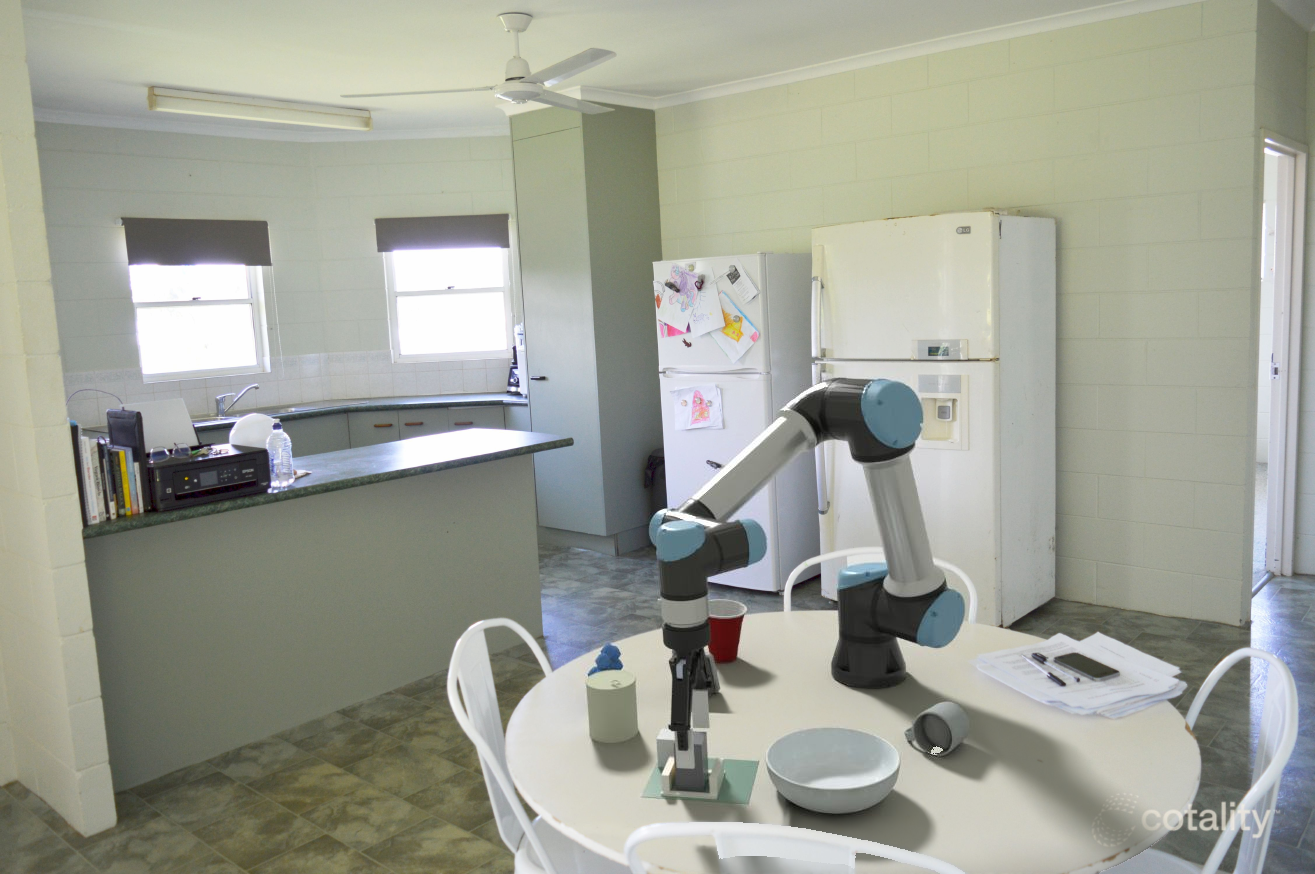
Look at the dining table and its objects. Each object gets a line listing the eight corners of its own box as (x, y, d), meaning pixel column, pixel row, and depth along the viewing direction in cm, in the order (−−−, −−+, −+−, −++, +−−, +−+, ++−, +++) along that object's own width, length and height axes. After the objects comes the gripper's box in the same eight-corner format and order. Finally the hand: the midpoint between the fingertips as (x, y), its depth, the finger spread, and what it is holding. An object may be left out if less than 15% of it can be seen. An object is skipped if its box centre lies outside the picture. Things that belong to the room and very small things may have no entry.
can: (601, 755, 171) (597, 691, 169) (581, 736, 179) (577, 674, 177) (648, 742, 175) (644, 679, 173) (626, 723, 183) (622, 663, 181)
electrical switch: (721, 692, 195) (717, 649, 193) (708, 704, 191) (704, 660, 189) (681, 684, 200) (677, 642, 198) (668, 695, 196) (663, 653, 194)
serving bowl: (785, 757, 167) (784, 719, 166) (910, 774, 159) (909, 734, 158) (750, 818, 148) (748, 776, 147) (889, 842, 140) (888, 797, 139)
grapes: (600, 690, 199) (596, 634, 197) (631, 693, 197) (627, 636, 195) (577, 714, 188) (573, 655, 186) (609, 717, 186) (606, 657, 184)
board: (759, 769, 163) (758, 743, 162) (748, 812, 149) (747, 785, 149) (660, 763, 167) (659, 738, 166) (641, 805, 153) (640, 778, 152)
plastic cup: (735, 671, 206) (732, 616, 204) (691, 663, 211) (688, 610, 210) (757, 653, 215) (755, 601, 213) (714, 646, 220) (712, 595, 219)
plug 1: (685, 757, 165) (684, 729, 164) (681, 768, 161) (679, 740, 161) (663, 755, 166) (661, 728, 165) (657, 766, 162) (656, 738, 162)
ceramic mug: (973, 743, 168) (972, 701, 167) (954, 761, 162) (952, 718, 161) (916, 729, 175) (915, 688, 174) (895, 746, 169) (894, 704, 168)
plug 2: (708, 778, 158) (706, 731, 157) (703, 791, 153) (701, 744, 152) (679, 776, 159) (677, 730, 158) (674, 790, 154) (671, 742, 153)
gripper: (678, 594, 165) (685, 711, 168) (644, 649, 141) (653, 784, 144) (721, 594, 163) (728, 712, 167) (694, 650, 139) (703, 787, 143)
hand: (693, 746), depth 155 cm, fingers open, 13 cm apart
